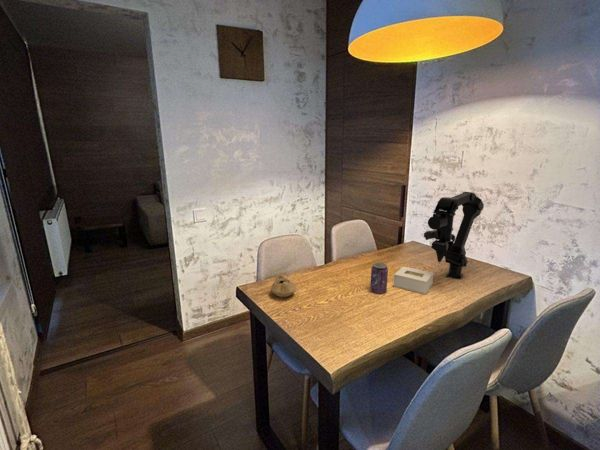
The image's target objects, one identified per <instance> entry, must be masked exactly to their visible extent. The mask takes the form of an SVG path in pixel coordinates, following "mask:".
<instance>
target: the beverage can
mask: <svg viewBox="0 0 600 450" xmlns="http://www.w3.org/2000/svg"><path fill="white" fill-rule="evenodd" d="M370 270H371V271H370V283H369V284H370V285H369V288H370V290H371V291H372V292H373V293H376V294H382V293H385V292H387V290H388V289H387V288H388V275H389V274H388V273H389V269H388V265H387V264H386V263H383V262H374V263H372V267H371V268H370Z"/></svg>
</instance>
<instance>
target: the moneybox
mask: <svg viewBox="0 0 600 450" xmlns="http://www.w3.org/2000/svg"><path fill="white" fill-rule="evenodd" d="M408 272H410V273H414V274H419V275H422V277H419V276H415V275H410V274H407V273H408ZM433 281H434V272H432V271H426V270H421V269H416V268H412V267H408V266H402V267H401V268H400V269H399V270H397V271H396V272H395V273H394V274H393V287H394V288H398V289H402V290H406V291H408V292H414V293H416V294H417V293H418V294H421V295H426V294H427V293H428V292H429V290H430V289H431V288H432V286H433Z"/></svg>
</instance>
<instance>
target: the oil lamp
mask: <svg viewBox="0 0 600 450" xmlns="http://www.w3.org/2000/svg"><path fill="white" fill-rule="evenodd" d="M270 291H271V292H272V293H273V294H274V295H275V296H277V297H280V298H288V297H289V296H291V295H292V294H294V293H295V292H296V291H297V286H296V284H295V282H292V281H291V280H290V279H288V278H286V277H284V276H283V275H277V276H276V277H275V280H274V282H273V283H272V285H271V286H270Z"/></svg>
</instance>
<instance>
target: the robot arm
mask: <svg viewBox="0 0 600 450" xmlns="http://www.w3.org/2000/svg"><path fill="white" fill-rule="evenodd" d="M461 206H462V208H461V209H462V213H463V214H462V215H463V217H462V219H461V222H460V224H459V225H460V226H459V229H458V231H457V233H456V235H454V233H452V232H453V231H454V228H453V224H454V217H455V216H456V212H457V210H459V207H461ZM483 210H484V202H483V201H482V199H481V198H480V197H478V196H477V195H476V193H475V192H472V191H471V192H470V191H463V192H462V193H460V194H457V195H455V196H451V197H446V196H444V197H440V199H439V200H438V201H437V203H436V205H435V208H434V210H433V214H432V216H431V217H429V219H428V220H427V225H428V226H427V227H429V228H430V229H431V230H426V231H424V233H423V238H424V239H425V240H426V241H428V240H433V239H434V241H433V242H432V243H431V246H430V247H431V248H432V250H434V251H435V252H436V258H437V262H438V263H441V262H442V260H443V259H444V260H445V261H444V263H448V264H449V265H448V272H447V273H446V274H445V275H446V277H450V278H455V279H460V280H461V279H462V277H463V276H464V274H463V273H462V272H463V268H464V267H465V268H466V267H467V265H468V263H469V261H468V258H467V257H466V254H467V252H466V247H465V246H466V243H467V240H468V237H469V235H470V232H471V229H472V226H473V224H474V221H475V219H476V218H478V217H479V216H480V215H481V213H482V211H483Z"/></svg>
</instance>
